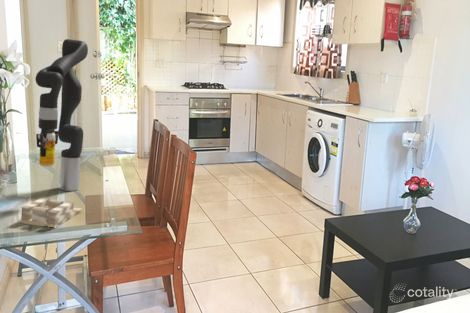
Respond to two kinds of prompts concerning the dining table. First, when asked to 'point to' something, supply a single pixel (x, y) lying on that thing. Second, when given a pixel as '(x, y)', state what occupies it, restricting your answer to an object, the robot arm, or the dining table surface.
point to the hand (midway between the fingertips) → (47, 155)
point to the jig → (48, 212)
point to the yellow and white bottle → (49, 151)
